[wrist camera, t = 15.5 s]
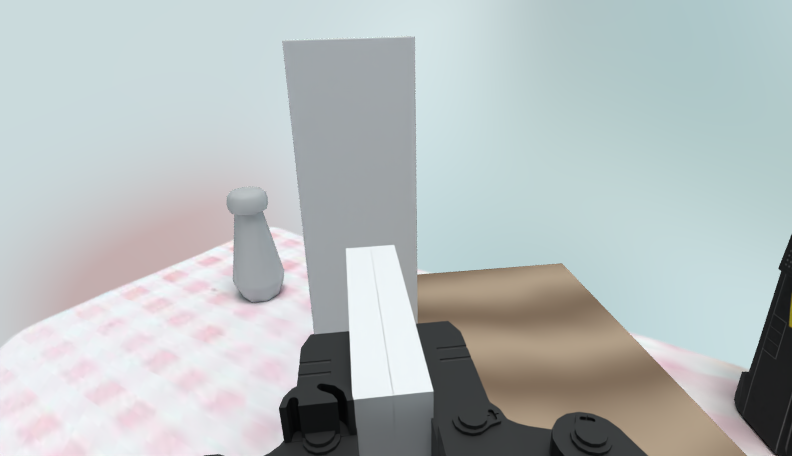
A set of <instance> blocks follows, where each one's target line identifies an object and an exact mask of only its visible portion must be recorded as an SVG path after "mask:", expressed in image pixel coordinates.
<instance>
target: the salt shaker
mask: <svg viewBox="0 0 792 456" xmlns="http://www.w3.org/2000/svg"><path fill="white" fill-rule="evenodd" d="M267 205H268V198H267V195H266V192H265V191H264V190H262V189H261V188H259V187H242V188H238V189H235V190H233V191H231V192H230V193H229V195H228V196H227V207H228V210H229V211H230V212H231V213H232V214H234V261H233V281H234V284H235V285H236V287H237V288H238V290H239V291H240V293H241V294H242V295H243V297H244V298H246V299H248V300H249V301H251V302H260V301H268V300H270V299H271V298H273V297H274V296H276V295H278V294H279V292H280V289H281V285H282V282H283V279H284V269H283V266H282V263H281V260H280V258H279V255H278V252H277V249H276V247H275V244H274V241H273V238H272V236H271V233H270V230H269V227H268V225H267V222H266V219H265V217H264V214H263V210H265V209H266V208H267Z"/></svg>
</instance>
